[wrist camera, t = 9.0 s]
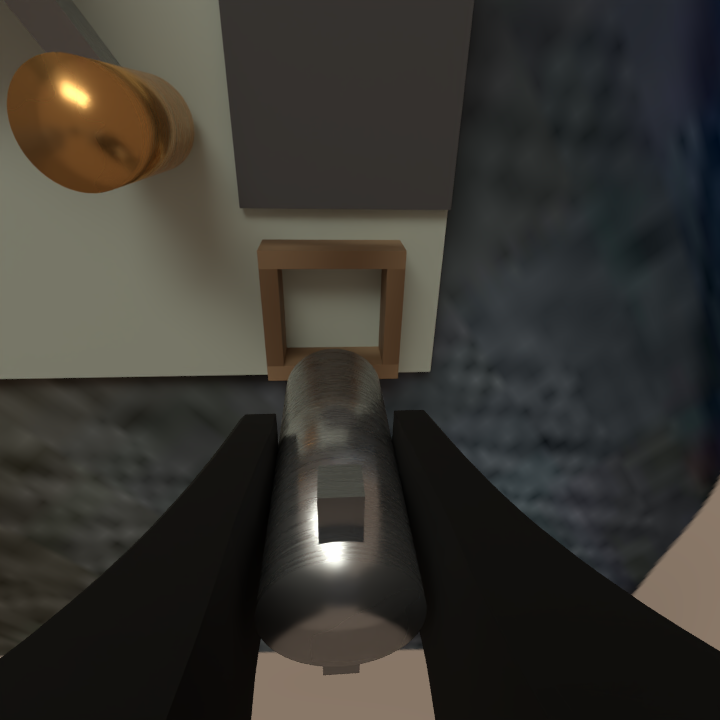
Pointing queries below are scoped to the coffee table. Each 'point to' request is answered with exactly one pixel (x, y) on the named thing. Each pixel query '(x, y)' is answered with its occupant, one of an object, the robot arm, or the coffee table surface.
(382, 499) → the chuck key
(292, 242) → the frame
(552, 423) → the coffee table surface
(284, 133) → the rubber pad
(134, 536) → the coffee table surface
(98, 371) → the board
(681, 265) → the coffee table surface
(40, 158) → the lever
